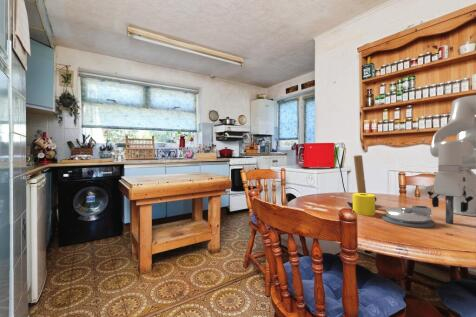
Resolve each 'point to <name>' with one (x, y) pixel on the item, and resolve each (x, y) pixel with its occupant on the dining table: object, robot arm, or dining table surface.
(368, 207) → the tape roll
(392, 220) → the base
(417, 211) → the grey pot lid
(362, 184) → the hammer
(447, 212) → the steel pin
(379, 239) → the dining table surface
